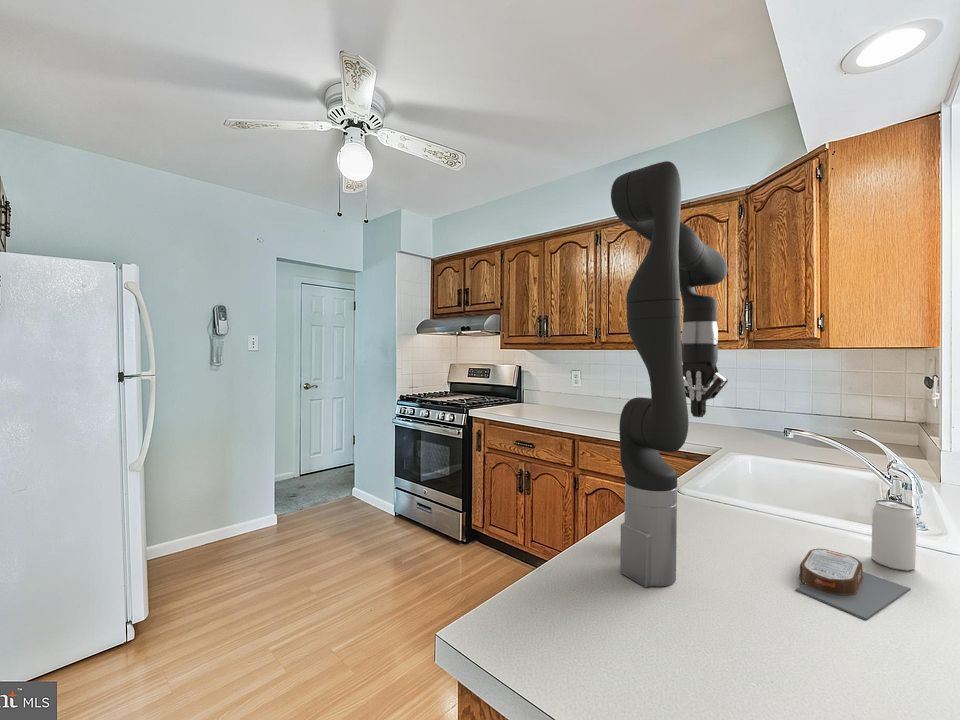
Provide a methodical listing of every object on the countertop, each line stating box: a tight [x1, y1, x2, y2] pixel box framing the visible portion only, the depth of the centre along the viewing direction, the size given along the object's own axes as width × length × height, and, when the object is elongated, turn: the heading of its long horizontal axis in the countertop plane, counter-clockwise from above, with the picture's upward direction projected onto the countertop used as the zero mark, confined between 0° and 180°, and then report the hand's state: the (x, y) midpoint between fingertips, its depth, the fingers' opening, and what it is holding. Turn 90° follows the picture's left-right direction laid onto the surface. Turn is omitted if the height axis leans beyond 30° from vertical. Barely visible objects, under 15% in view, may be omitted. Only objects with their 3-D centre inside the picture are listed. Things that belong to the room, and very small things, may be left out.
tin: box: [798, 548, 864, 596], centre depth 83 cm, size 15×3×8 cm
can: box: [870, 498, 918, 572], centre depth 89 cm, size 6×6×12 cm
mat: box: [795, 571, 911, 621], centre depth 79 cm, size 18×10×1 cm, turn 120°
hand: (698, 416), depth 103 cm, fingers closed
